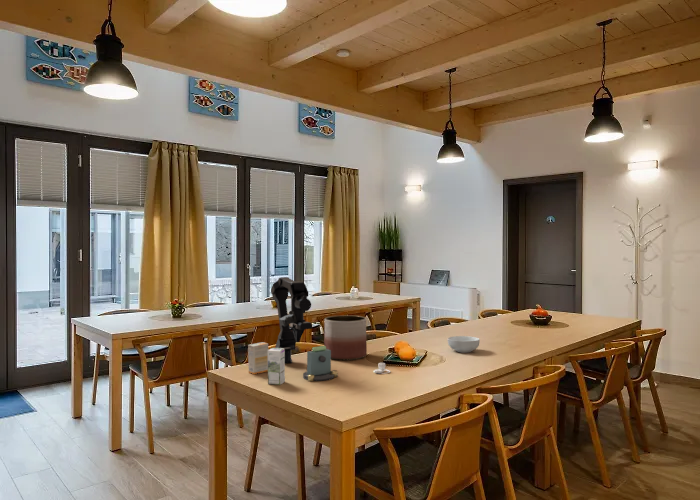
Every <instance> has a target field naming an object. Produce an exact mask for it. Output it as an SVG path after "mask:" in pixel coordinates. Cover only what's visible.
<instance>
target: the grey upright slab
mask: <svg viewBox="0 0 700 500" xmlns="http://www.w3.org/2000/svg"><path fill="white" fill-rule="evenodd" d="M306 353H307V354H306V357H307V358H306V361H307V362H306V364H307V365H306V366H307V367H306V371H307V374H308V375H309V374H313V375H320V374H326V373H331V371H332V367H331V366H332V359H331V350H329V349H326V346H324V345H320V346H314V347H312V348H311V350H310V351H309V350H308V351H306Z"/></svg>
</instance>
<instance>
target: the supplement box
mask: <svg viewBox="0 0 700 500" xmlns="http://www.w3.org/2000/svg"><path fill="white" fill-rule="evenodd" d="M247 347H248V348H247V352H248V353H247V354H248V355H247V357H248V373H249V374H251V373H252V375H258V374H261V373H268V350H269V343H267V342H264V341H263V342H262V341H261V342H257V343H251V344H247ZM257 373H258V374H257Z"/></svg>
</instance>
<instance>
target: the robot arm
mask: <svg viewBox="0 0 700 500" xmlns="http://www.w3.org/2000/svg"><path fill="white" fill-rule="evenodd" d="M270 288H271V289H270V293H271V295H272V299H273V301H275V303H276V308H277V314H278V315H277V316H278V322H279V329H280V332H279V334H278V335H277V341H276V343H275V348H284V349H285V364H293V359H292V351H295V349H296V345H297V343H299V342H300V341H301V338H302V336H303V335H304V332H305V330H309V329H310V330H311V329H313V324H312V322H309V321H306V319H304V318H305V317H304V314H305V313H306V312H307V311H309V310H311V308H312V303H311V300H310V299H308V297H309V290H308V288H307V285H306V284H305V282H304V281H295V280H293V279H292V278H290V277H287V276H285V277H284V276H283V277H278V278H277V281H275V282H273V284H272V286H271V287H270ZM289 294H290V301H291V302H290V305H291V306H290V308H291V309H290V310H289V312H288V305H287V299H288V297H289Z"/></svg>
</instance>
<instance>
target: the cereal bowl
mask: <svg viewBox="0 0 700 500" xmlns="http://www.w3.org/2000/svg"><path fill="white" fill-rule="evenodd" d="M447 344H448V346H449V347H450V348H451V349H452V350H454V351H456V352H457V353H463V354H464V353H467V354H468V353H471V352H472V351H475V350H476V349H478V347H479V346H480V338H479V337H476V336H470V335H469V336H468V335H454V336H453V335H452V336H450V337H447Z"/></svg>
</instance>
